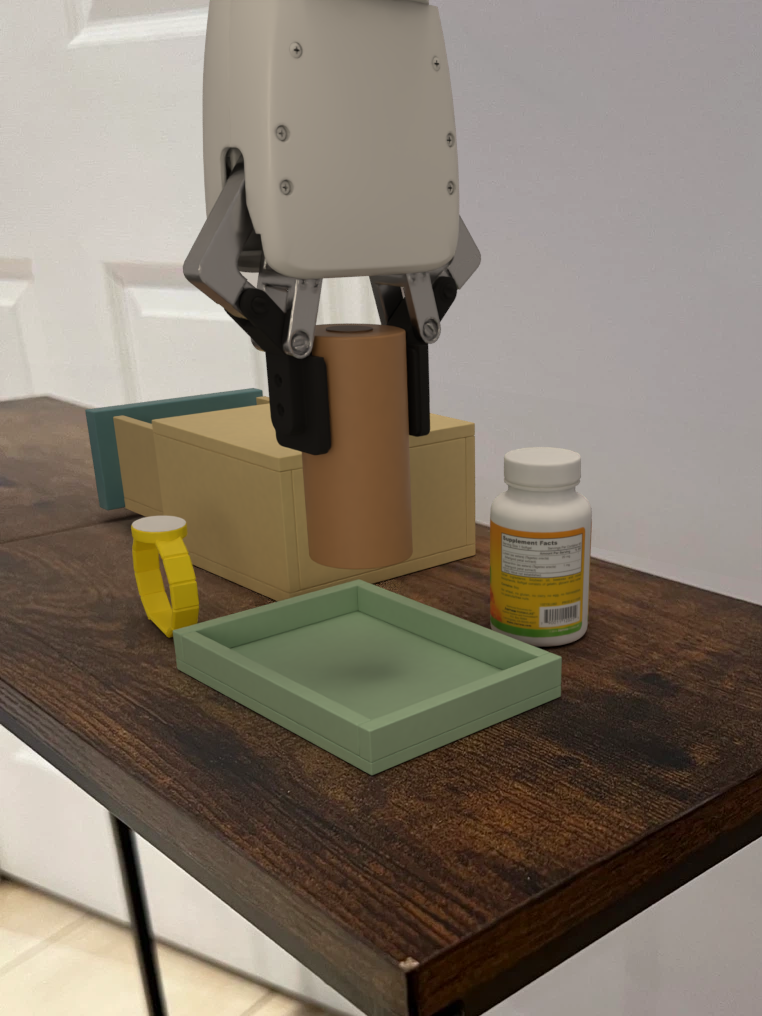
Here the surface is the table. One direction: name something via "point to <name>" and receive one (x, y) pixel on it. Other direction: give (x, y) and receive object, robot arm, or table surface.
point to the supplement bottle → (540, 549)
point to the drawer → (144, 445)
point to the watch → (166, 541)
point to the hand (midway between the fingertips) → (354, 436)
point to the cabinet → (298, 500)
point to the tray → (368, 671)
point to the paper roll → (361, 451)
